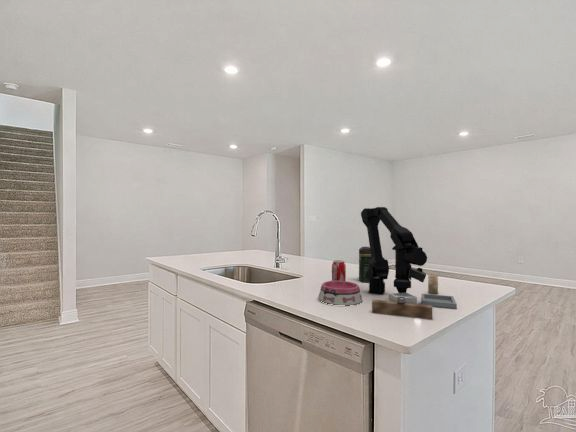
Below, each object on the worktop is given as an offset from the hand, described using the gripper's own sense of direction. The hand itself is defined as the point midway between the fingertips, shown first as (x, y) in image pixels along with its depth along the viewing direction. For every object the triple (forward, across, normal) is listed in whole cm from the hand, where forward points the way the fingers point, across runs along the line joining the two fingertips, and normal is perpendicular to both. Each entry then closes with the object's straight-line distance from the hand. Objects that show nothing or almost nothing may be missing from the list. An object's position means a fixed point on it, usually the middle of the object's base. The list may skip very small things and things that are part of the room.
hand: (403, 300), depth 124 cm
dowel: (+1, +22, -12) cm, 25 cm away
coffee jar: (+2, +38, +20) cm, 43 cm away
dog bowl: (+2, -4, +25) cm, 25 cm away
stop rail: (+1, -15, 0) cm, 15 cm away
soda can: (+1, +24, +32) cm, 40 cm away
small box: (+1, -8, 0) cm, 8 cm away
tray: (+1, +5, -13) cm, 14 cm away
